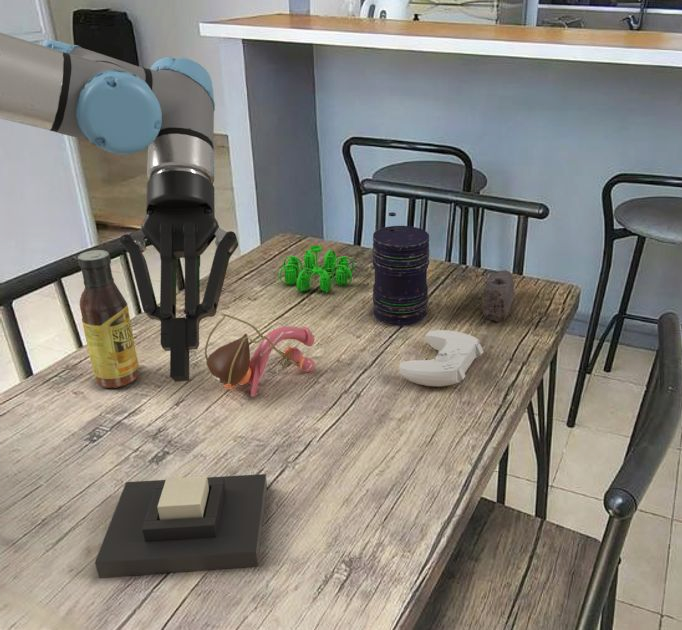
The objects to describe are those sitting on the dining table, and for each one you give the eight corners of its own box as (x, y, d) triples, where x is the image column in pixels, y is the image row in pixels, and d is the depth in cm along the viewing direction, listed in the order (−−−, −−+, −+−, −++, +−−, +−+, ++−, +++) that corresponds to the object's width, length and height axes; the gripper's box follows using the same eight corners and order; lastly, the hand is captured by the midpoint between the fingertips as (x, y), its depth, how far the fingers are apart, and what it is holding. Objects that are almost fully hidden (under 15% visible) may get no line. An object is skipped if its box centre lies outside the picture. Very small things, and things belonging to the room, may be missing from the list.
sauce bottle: (131, 391, 99) (104, 265, 90) (88, 390, 99) (57, 264, 90) (147, 367, 105) (124, 247, 96) (107, 366, 105) (80, 246, 96)
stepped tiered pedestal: (98, 578, 70) (90, 549, 68) (129, 496, 80) (122, 469, 78) (258, 566, 71) (254, 538, 70) (267, 487, 82) (264, 461, 80)
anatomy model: (341, 353, 104) (277, 306, 93) (286, 426, 102) (214, 387, 91) (307, 327, 111) (243, 280, 100) (255, 395, 109) (184, 355, 98)
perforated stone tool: (492, 290, 132) (494, 257, 129) (519, 294, 131) (522, 261, 128) (475, 325, 119) (478, 289, 116) (505, 330, 118) (509, 294, 115)
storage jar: (438, 317, 122) (442, 222, 113) (391, 331, 117) (392, 233, 108) (407, 296, 129) (409, 205, 121) (362, 309, 124) (361, 214, 116)
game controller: (429, 323, 113) (486, 324, 109) (433, 347, 115) (489, 349, 110) (391, 365, 101) (453, 368, 97) (397, 390, 103) (458, 395, 99)
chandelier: (334, 303, 126) (332, 268, 123) (264, 288, 130) (261, 255, 127) (368, 272, 138) (367, 240, 135) (303, 260, 143) (301, 229, 140)
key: (160, 521, 72) (157, 506, 71) (168, 492, 76) (166, 478, 75) (202, 518, 72) (200, 504, 72) (209, 489, 76) (207, 475, 75)
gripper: (241, 196, 85) (245, 381, 78) (131, 199, 83) (125, 389, 76) (234, 166, 78) (237, 367, 71) (113, 168, 76) (105, 375, 69)
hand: (179, 378), depth 74 cm, fingers closed
